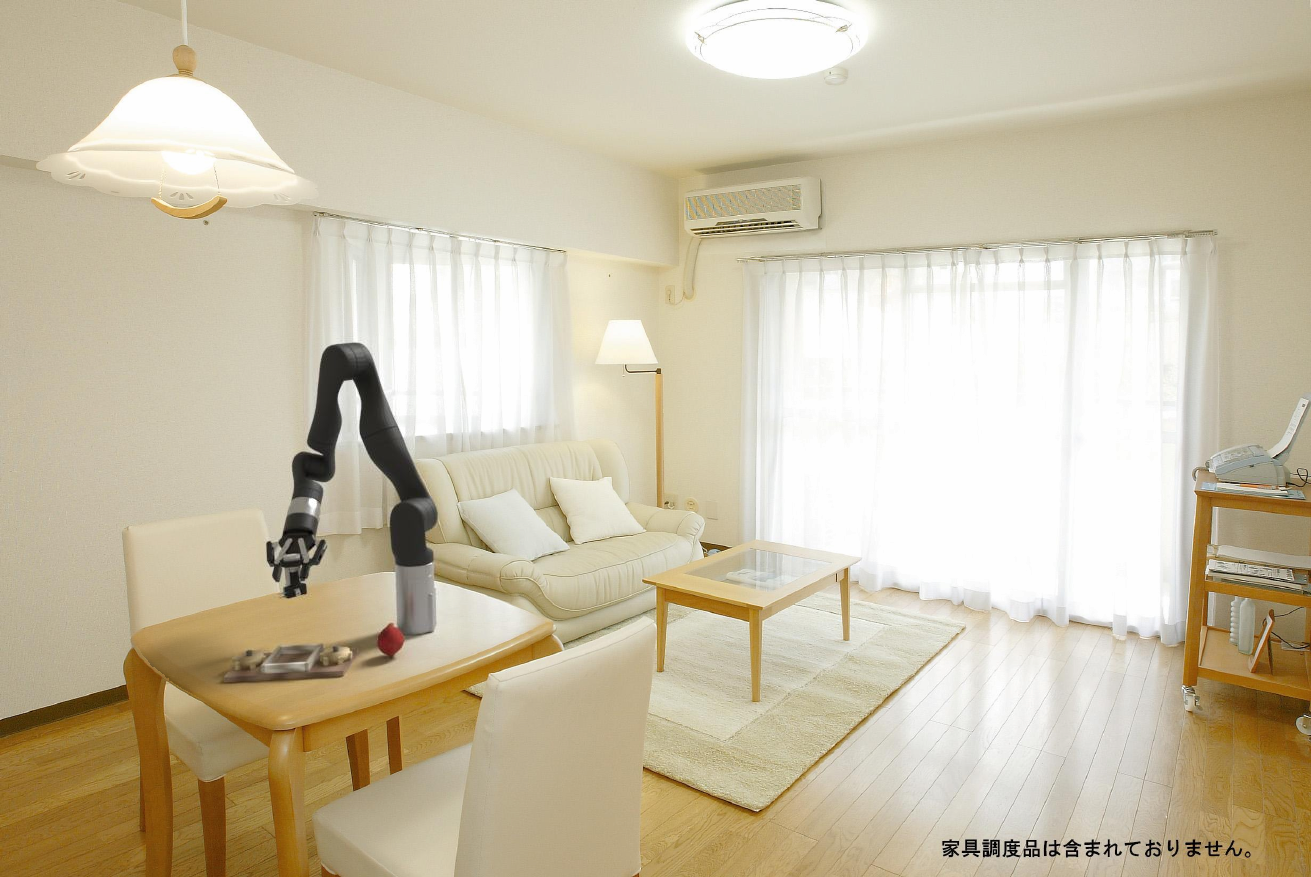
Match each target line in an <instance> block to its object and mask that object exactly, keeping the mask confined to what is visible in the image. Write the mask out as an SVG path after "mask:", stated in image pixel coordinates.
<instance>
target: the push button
mask: <svg viewBox="0 0 1311 877" xmlns="http://www.w3.org/2000/svg"><path fill="white" fill-rule="evenodd" d="M303 560H304V558H303V557H302V556H300V554H299V553H291V554H286V555H284V556H283V559H282V560H280V563H281V567H282V569H284V576H285V584H284V585H285V586H283V587H282V590H283V591H282V592H281V593H278V594H277V595H279V596H280V595H282V596H280V597H278V599H283V598H284V599H292V598H297V597H300V596H305V595H307V594H308V591H307V590H308V587H307V583H305V582H304V581H301V580H300V572H301V567H302V564H304V561H303Z"/></svg>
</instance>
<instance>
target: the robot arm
mask: <svg viewBox="0 0 1311 877" xmlns="http://www.w3.org/2000/svg"><path fill="white" fill-rule="evenodd" d="M349 381H353V383H354V385H355V387H356V390H357V393H358V395H359V398H360V412H359V413H360V414H359V422H358V427H359V428H358V431H359V436H360V439H361V440H362V443H363V446H364V448H365V450H366V453H367V455H368V456H369V458H370V460H371V462H372V463H373V464H374V466H376V467H377V468H378V469H379V470H380V472H381V473H382V474H383V475H385V477H386V478H387V479H388V480H389V481H390V482H391V484H392V485H393V487H394V489H395V491H396V493H397V495H398V498H399V500H400V502H398V503H397V504H395V505H394V507H393V508H392V509H391V512H390V517H389V532H390V533H389V534H390V536H389V537H390V546H391V552H392V554H393V557H394V563H395V564H394V566H395V602H396V605H395V606H396V608H395V609H396V628H398V629H399V630H400V631H401V632H402V634H403V635H409V636H410V635H420V634H421V635H422V634H427V633H430V632H434V631H435V628H436V626H437V593H436V592H437V588H436V587H435V560H434V558H435V557H434V555H435V554H434V550H433V549H432V548H430V547H428V545H427V541H426V540H427V539H426V532H429V531H430V530H432V529H433V528H435V526H436V524H437V522H438V519H439V518H438V517H439V515H438V514H439V513H438V509H437V506H436V504H435V501H434V499H433V498H432V496H431V495H430V493H429V490H428V489H427V488H426V485H425V484H424V482H423V480H422V478H421V477H420V474H419V472H418V470H417V468H416V465H415V463H414V461H413V458H412V456H411V454H410V452H409V450H408V447H407V444H406V443H405V439H404V437H403V435H402V434H403V433H402V432H401V429H400V427H399V425H398V423H397V421H396V419H395V416H394V415H393V412H392V410H391V407H390V404H389V401H388V399H387V397H386V394H385V392H384V388H383V386H382V383H381V379H380V376H379V373H378V370H377V366H376V364H375V361H374V358H373V355H372V353H371V352H370V350H369V348H368V347H367V346H366V345H365V344H363V343H360V342H355V341H354V342H346V343H345V342H344V343H334V344H331V345H328V346H327V347H325V349H324V350H323V352H322V354H321V358H320V363H319V371H318V382H317V390H316V402H315V409H314V414H313V417H312V421H311V425H310V428H309V431H308V435H307V438H306V445H307V446H308V447H309V448H310V449H311V450H312V451H315V452H317V453H313V452H311V451H310V452H309V451H305V450H304V451H300V452H297V454H295V455H294V456H293V458H292V462H291V471H292V479H293V492H292V496H291V499H290V504H289V506H288V509H287V512H286V517H285V520H284V521H285V522H284V526H283V530H282V534H281V537H280V538H279V539H278V541H275V542H274V541H271V540H268V541H266V543H265V546H266V548H265V550H266V562H267V564H268V565H269V567H270V568H273V570H272V573H271V574H272V575H271V577H272V579H273V581H274V582H275V583H280V582H281V579H282V573H283V567H281V563H280V560H282V559H283V556H284V555H286V554H291V553H299V554H300V556H302V557H303V558H304V560H303V561H304V564H302V565H301V572H300V580H301V581H303V582H305V581H306V580H307V579H308V578H309V576H310V571H311V568H312V567H313V566H319V565H320V563H321V561H322V559H323V557H324V555H325V553H326V551H327V548H328V544H327V541H326V540H325V539H321V540H319V539H318V540H317V539H316V537H317V532H318V529H319V522H320V519H321V517H320V516H321V507H322V503H323V502H322V501H323V497H324V488H323V486H322V485H321V484H320V483H327V482H330V481H331V480H332V479H333V478H334V477H335V473H336V447H337V443H338V441H339V440H338V439H339V435H340V432H341V429H342V425H343V424H342V423H343V417H342V412H341V409H340V408H341V407H340V404H339V395H340V394H339V393H340V390H341V388H342V386H343V384H344V382H349ZM279 547H280V548H281V549H280V551H279V552H278V555H277V557H276V556H275V555H276V554H275V552H277V550H278V548H279ZM314 547H315V548H316V549H315V551H314V553H313V555H312V557H311V558H310V554H309V552H310V551H311V550H312V549H313V548H314Z"/></svg>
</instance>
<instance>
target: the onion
mask: <svg viewBox="0 0 1311 877" xmlns="http://www.w3.org/2000/svg"><path fill="white" fill-rule="evenodd" d="M404 643H405V636H404V634H402V632H401V631H400V630H399V629H398V628H397V626H395V625H394V622H393V621H391V622H389V623H388V624H386V626H385V627H384V628H383V629H381V631H380V632H379V634H378V635H377V639H376V646H377V648H378V650H379V652H381V653H382V654H383V655H385V656H388V657H389V658H390V657H394V656H395V655H396V654H397V653H398V652H399V651H401V649H402V648H403V646H404Z"/></svg>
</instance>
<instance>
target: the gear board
mask: <svg viewBox="0 0 1311 877" xmlns="http://www.w3.org/2000/svg"><path fill="white" fill-rule="evenodd" d="M357 655H358V648H349V647H347V646H340V645H334V646H332V647H329V648H326V649H324V643H308V644H307V643H306V644H289V645H288V644H287V645H285V644H284V645H277V647H276V648H275V649H274V650H273V651H272V652H264V651H262V650H252V649H248V650H245V651H243V652H241V653H238V654H237V655H235V656H234V657H232V667H231V669H229V671H228V672H226V673H225V675H224V676H223V677H222V678H223V683H226V684H227V683H239V682H240V683H242V682H243V683H244V682H258V681H259V682H260V681H278V680H296V679H299V680H300V679H312V678H313V679H315V678H333V677H336V678H337V677H344V676H345V675H346V673H347V671H348V670H349V668H350V667H351V664H352V663H353V662H354V660H355V659H356V656H357Z"/></svg>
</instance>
